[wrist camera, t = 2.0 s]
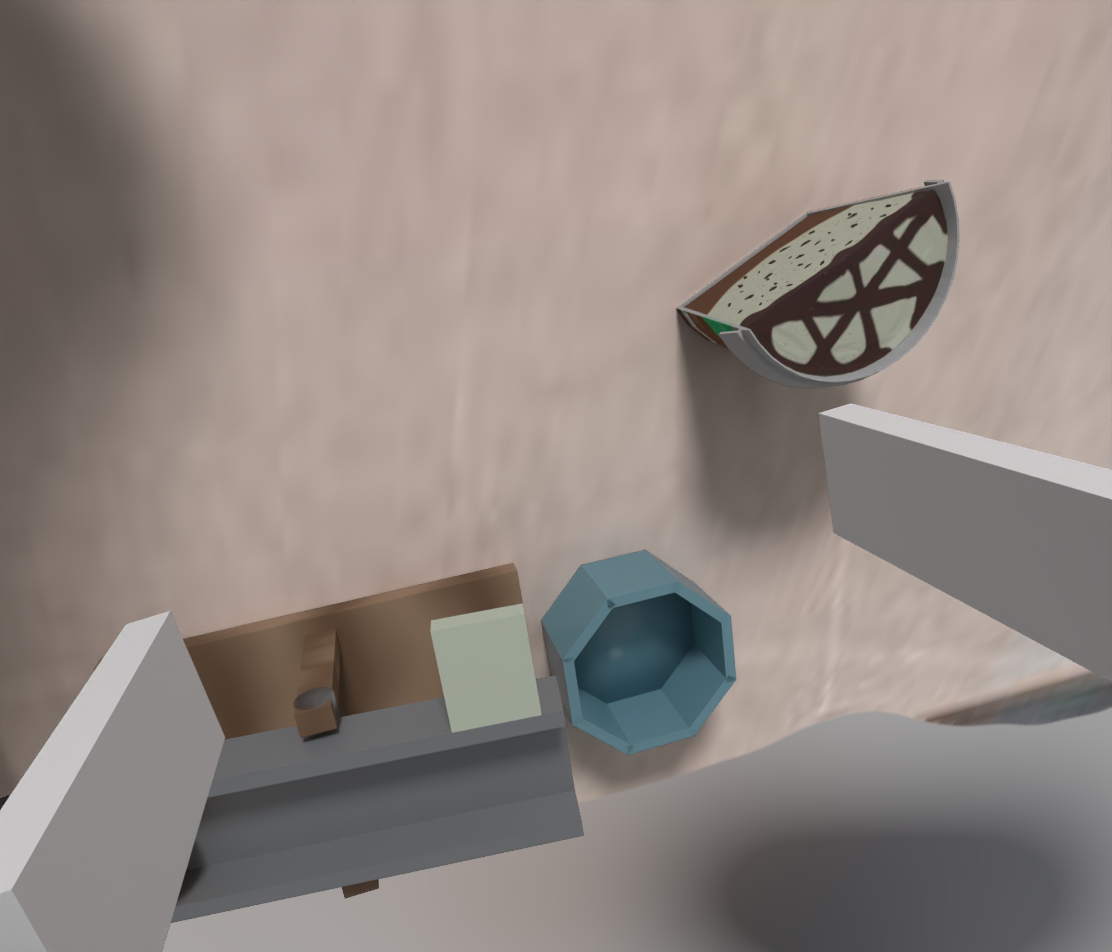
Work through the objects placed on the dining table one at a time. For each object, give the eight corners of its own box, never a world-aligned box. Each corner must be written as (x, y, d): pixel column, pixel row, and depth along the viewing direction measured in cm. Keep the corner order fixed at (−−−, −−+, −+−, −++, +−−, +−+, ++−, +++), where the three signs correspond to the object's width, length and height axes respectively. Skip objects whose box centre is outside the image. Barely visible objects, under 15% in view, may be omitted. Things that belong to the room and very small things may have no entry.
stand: (167, 845, 43) (121, 984, 35) (101, 657, 40) (32, 761, 31) (543, 739, 47) (583, 840, 39) (512, 563, 44) (549, 631, 35)
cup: (557, 720, 47) (579, 769, 42) (534, 575, 44) (554, 611, 40) (703, 680, 49) (739, 722, 44) (689, 539, 46) (727, 568, 42)
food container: (707, 411, 45) (800, 447, 35) (654, 323, 42) (739, 337, 33) (871, 289, 45) (1006, 292, 36) (828, 196, 43) (959, 174, 34)
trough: (144, 854, 39) (98, 941, 34) (69, 649, 35) (5, 712, 30) (568, 767, 40) (584, 838, 35) (536, 564, 37) (548, 611, 32)
